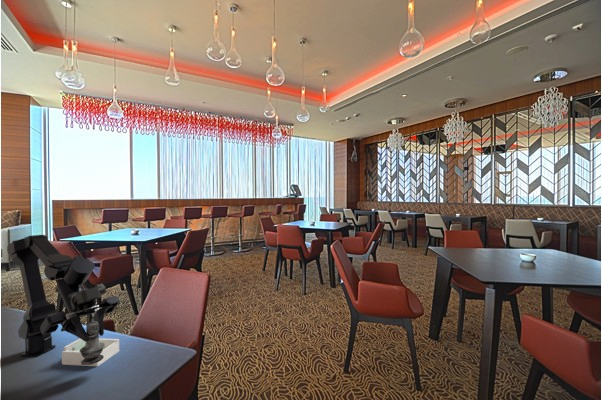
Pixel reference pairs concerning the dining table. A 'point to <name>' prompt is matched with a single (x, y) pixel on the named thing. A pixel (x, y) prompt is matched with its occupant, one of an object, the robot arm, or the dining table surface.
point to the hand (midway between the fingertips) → (95, 337)
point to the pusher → (79, 346)
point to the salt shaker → (92, 345)
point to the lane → (76, 357)
